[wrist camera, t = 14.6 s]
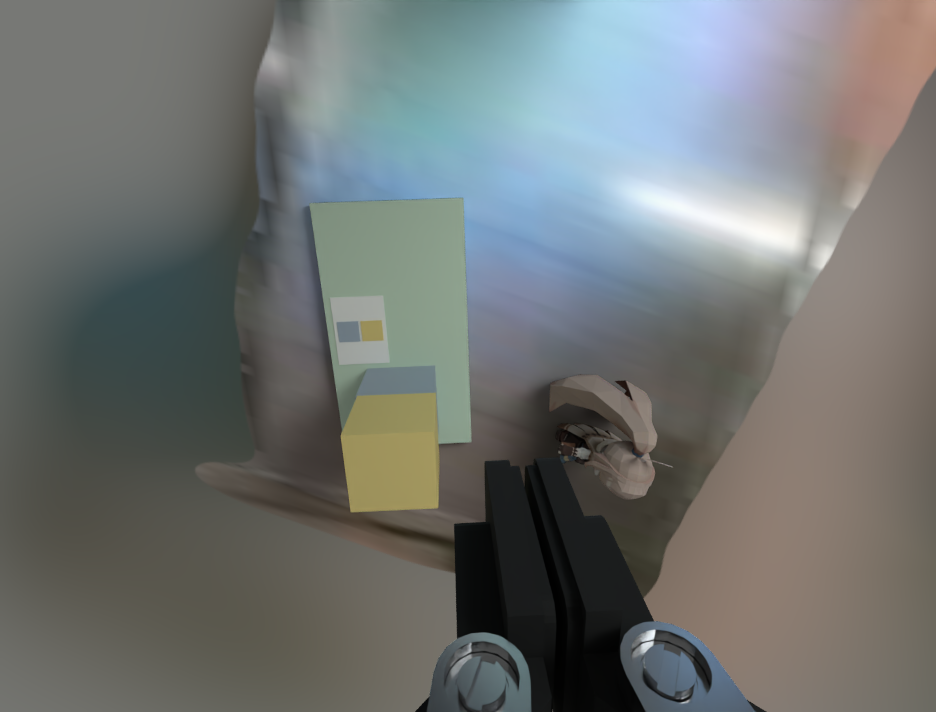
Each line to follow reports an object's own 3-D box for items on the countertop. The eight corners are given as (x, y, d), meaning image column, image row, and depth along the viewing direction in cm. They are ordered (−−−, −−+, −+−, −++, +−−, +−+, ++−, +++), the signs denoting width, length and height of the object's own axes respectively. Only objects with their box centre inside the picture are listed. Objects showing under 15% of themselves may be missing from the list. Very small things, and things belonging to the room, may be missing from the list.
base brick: (367, 368, 41) (354, 397, 35) (435, 365, 41) (433, 393, 36) (374, 428, 43) (363, 464, 37) (438, 425, 43) (437, 460, 38)
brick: (357, 395, 35) (340, 435, 30) (436, 392, 36) (434, 431, 30) (365, 462, 37) (350, 512, 32) (439, 459, 38) (438, 508, 32)
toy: (524, 448, 45) (578, 506, 30) (542, 363, 45) (604, 379, 30) (611, 463, 46) (704, 526, 31) (629, 379, 46) (731, 403, 31)
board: (313, 202, 37) (308, 203, 36) (462, 197, 38) (463, 198, 36) (347, 442, 45) (344, 449, 44) (470, 435, 45) (471, 443, 44)
